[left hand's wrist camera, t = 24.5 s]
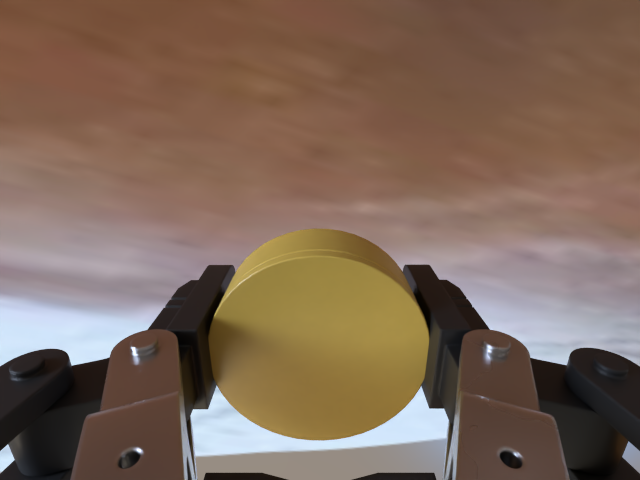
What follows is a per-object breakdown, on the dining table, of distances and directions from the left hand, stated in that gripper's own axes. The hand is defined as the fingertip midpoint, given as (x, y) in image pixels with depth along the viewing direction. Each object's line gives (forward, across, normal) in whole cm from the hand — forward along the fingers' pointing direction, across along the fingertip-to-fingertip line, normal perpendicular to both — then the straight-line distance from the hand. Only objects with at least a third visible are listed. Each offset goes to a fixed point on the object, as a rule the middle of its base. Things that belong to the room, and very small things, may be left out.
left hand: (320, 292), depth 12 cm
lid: (-3, 0, 0) cm, 3 cm away
